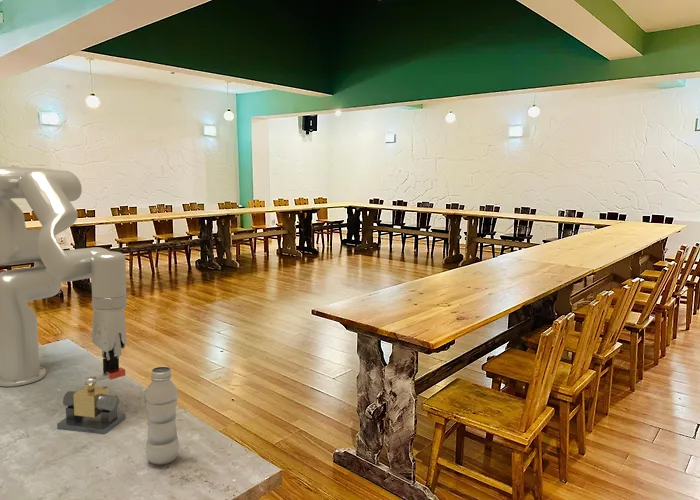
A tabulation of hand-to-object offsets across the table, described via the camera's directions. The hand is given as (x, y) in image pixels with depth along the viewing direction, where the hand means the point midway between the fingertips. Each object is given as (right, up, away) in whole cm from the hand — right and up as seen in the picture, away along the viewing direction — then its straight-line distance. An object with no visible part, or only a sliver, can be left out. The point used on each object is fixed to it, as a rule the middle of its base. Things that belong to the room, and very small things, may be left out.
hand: (111, 373), depth 121 cm
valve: (-2, -11, -5) cm, 12 cm away
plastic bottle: (+20, -14, -19) cm, 31 cm away
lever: (0, -1, -4) cm, 4 cm away
